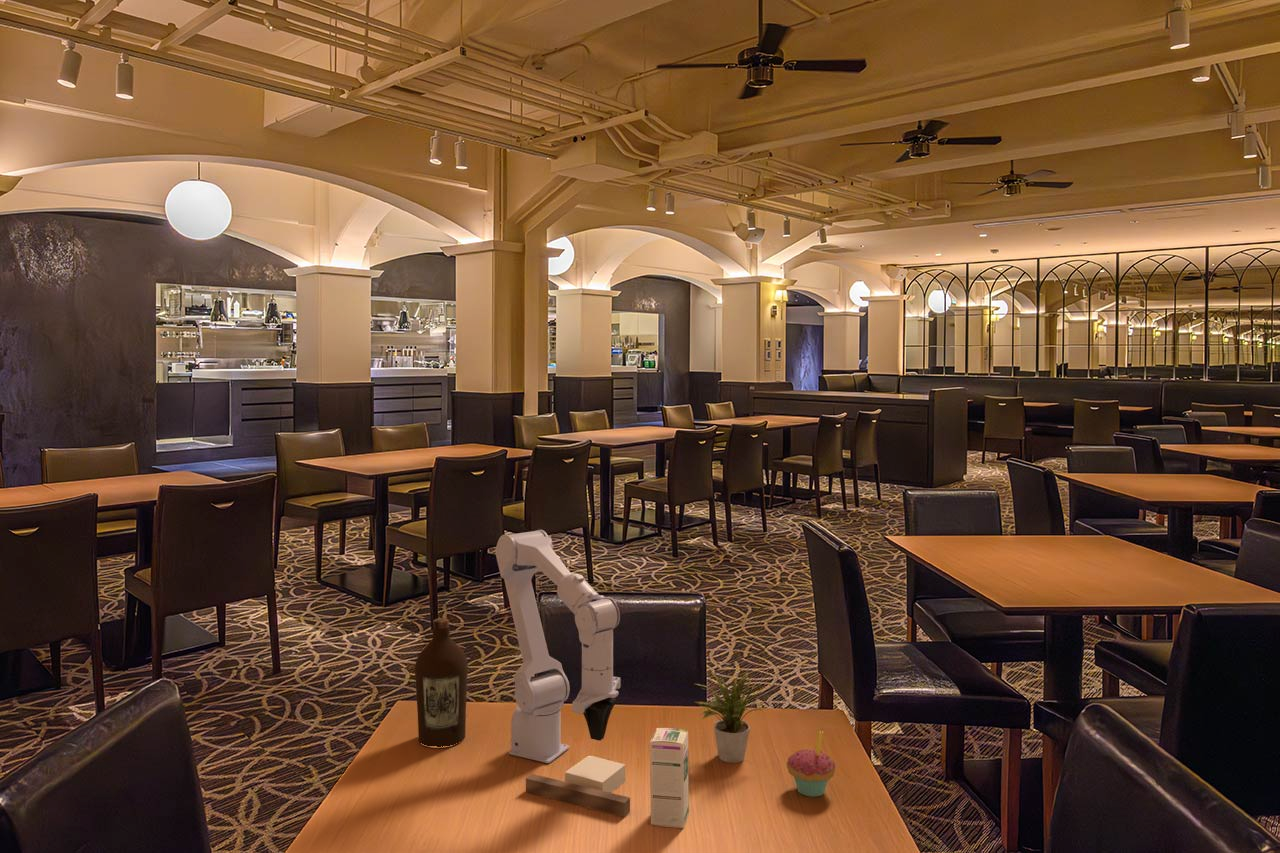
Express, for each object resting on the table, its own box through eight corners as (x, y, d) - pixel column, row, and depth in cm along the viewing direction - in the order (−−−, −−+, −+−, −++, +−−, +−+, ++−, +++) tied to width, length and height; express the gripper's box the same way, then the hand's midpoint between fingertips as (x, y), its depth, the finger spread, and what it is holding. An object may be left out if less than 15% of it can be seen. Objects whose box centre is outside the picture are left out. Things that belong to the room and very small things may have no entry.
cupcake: (836, 784, 152) (837, 720, 152) (832, 806, 144) (832, 738, 144) (790, 776, 155) (790, 713, 155) (782, 798, 147) (783, 731, 147)
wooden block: (565, 791, 150) (565, 772, 150) (589, 773, 157) (589, 755, 157) (602, 801, 146) (602, 782, 146) (625, 783, 153) (625, 764, 153)
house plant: (711, 733, 174) (711, 657, 173) (775, 746, 168) (775, 667, 167) (685, 761, 161) (685, 679, 161) (753, 776, 155) (753, 690, 155)
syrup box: (684, 829, 137) (684, 743, 136) (649, 825, 138) (649, 740, 137) (689, 811, 142) (689, 729, 142) (655, 808, 143) (655, 726, 143)
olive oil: (416, 731, 175) (415, 614, 174) (467, 726, 178) (466, 611, 176) (414, 752, 165) (413, 629, 164) (468, 747, 167) (467, 625, 166)
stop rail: (525, 791, 149) (525, 778, 149) (531, 787, 151) (531, 773, 151) (624, 817, 140) (624, 802, 140) (629, 811, 142) (630, 797, 142)
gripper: (597, 681, 143) (596, 758, 144) (634, 657, 156) (634, 727, 157) (562, 675, 146) (562, 750, 147) (602, 651, 159) (601, 720, 160)
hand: (597, 738), depth 152 cm, fingers closed
